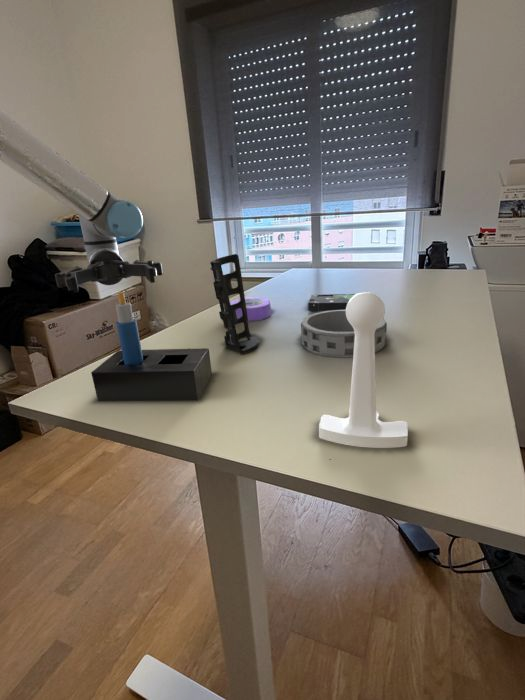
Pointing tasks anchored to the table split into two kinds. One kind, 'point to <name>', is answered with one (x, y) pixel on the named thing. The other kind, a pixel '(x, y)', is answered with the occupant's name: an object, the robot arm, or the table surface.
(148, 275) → the robot arm
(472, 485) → the table surface
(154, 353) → the two-slot black box
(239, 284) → the holder
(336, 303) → the disk drive
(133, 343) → the soldering iron
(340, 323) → the ring
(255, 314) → the tape roll
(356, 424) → the joystick
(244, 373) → the table surface
